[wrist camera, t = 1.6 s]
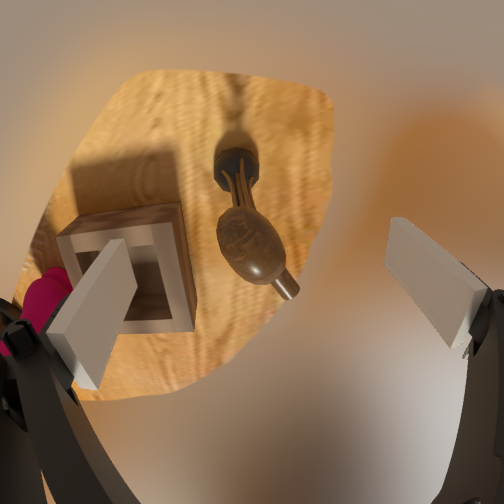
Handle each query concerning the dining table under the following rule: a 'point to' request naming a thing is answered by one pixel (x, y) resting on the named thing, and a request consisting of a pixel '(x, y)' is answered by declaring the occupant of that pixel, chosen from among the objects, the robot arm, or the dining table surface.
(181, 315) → the box
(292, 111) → the dining table surface
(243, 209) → the wooden tabletop sculpture
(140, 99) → the dining table surface
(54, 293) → the pepper mill
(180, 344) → the dining table surface
